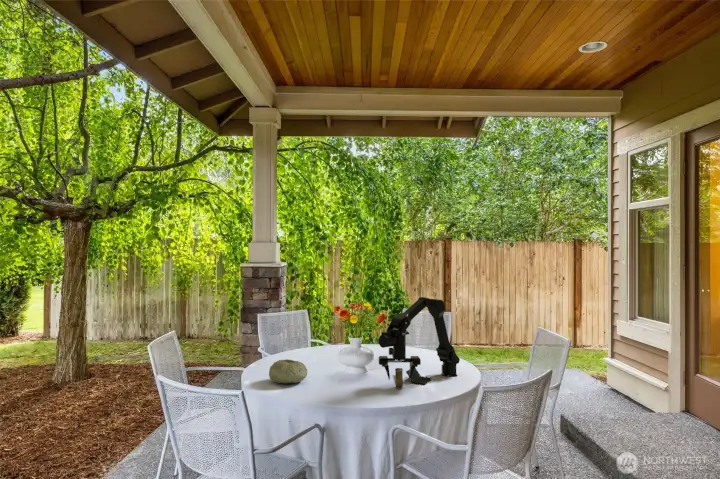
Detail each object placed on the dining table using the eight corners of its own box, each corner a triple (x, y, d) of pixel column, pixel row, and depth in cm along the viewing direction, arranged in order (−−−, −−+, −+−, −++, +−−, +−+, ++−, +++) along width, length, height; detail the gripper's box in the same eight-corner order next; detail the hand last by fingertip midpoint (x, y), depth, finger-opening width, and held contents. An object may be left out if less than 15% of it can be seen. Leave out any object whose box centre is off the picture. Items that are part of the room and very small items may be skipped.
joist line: (397, 375, 225) (397, 375, 225) (402, 389, 203) (402, 388, 203) (393, 375, 225) (393, 375, 225) (397, 389, 203) (397, 388, 203)
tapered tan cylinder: (402, 385, 207) (402, 367, 208) (403, 387, 204) (403, 369, 204) (395, 385, 207) (394, 368, 207) (395, 387, 204) (395, 370, 204)
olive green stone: (302, 375, 224) (302, 355, 225) (311, 385, 208) (311, 363, 208) (265, 379, 218) (266, 358, 218) (272, 389, 201) (272, 366, 202)
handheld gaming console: (429, 382, 209) (416, 363, 212) (416, 391, 210) (404, 372, 213) (432, 379, 219) (420, 361, 223) (421, 387, 220) (409, 369, 224)
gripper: (417, 341, 214) (417, 374, 214) (377, 341, 214) (377, 374, 214) (420, 346, 203) (420, 381, 203) (379, 346, 203) (379, 381, 203)
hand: (399, 379), depth 206 cm, fingers open, 9 cm apart
